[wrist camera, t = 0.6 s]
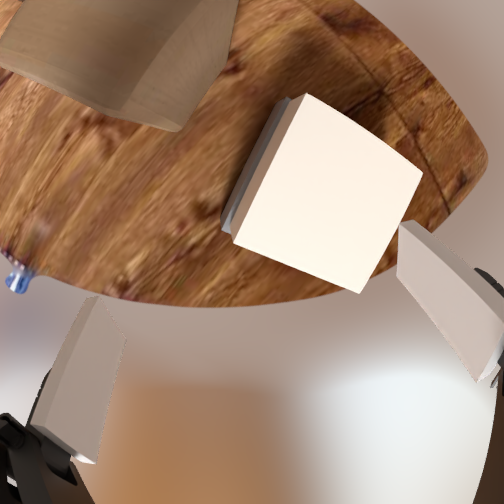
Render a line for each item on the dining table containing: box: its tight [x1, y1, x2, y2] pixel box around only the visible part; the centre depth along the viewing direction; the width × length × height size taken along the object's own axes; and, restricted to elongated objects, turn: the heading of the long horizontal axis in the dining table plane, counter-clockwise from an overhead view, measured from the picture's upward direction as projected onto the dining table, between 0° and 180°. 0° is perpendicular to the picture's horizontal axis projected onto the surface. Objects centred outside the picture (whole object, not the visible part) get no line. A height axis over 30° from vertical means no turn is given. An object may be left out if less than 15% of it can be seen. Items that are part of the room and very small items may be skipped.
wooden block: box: [0, 0, 239, 132], centre depth 16 cm, size 10×10×20 cm
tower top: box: [230, 93, 423, 294], centre depth 25 cm, size 13×13×5 cm
